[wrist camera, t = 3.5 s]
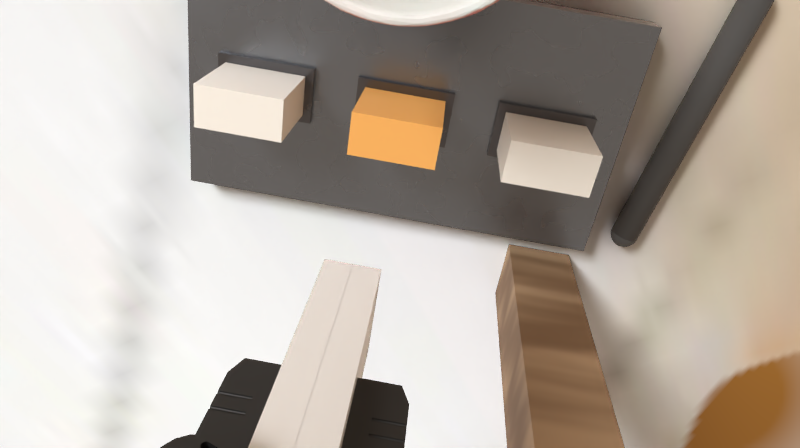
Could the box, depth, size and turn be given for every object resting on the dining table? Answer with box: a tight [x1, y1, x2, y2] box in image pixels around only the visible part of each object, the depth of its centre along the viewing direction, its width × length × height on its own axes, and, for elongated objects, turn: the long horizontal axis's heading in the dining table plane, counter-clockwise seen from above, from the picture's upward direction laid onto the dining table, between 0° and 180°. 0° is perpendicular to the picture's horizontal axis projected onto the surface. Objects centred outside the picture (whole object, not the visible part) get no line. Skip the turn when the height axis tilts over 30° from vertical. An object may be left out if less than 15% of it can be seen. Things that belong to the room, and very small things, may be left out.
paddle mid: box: [347, 87, 446, 170], centre depth 28 cm, size 2×4×4 cm, turn 81°
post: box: [496, 244, 625, 448], centre depth 28 cm, size 4×4×18 cm
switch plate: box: [188, 0, 662, 251], centre depth 31 cm, size 12×22×2 cm, turn 81°
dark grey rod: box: [611, 0, 774, 247], centre depth 30 cm, size 14×1×1 cm, turn 163°
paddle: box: [193, 62, 305, 143], centre depth 28 cm, size 2×4×4 cm, turn 81°
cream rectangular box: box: [497, 112, 603, 198], centre depth 28 cm, size 2×4×4 cm, turn 82°
